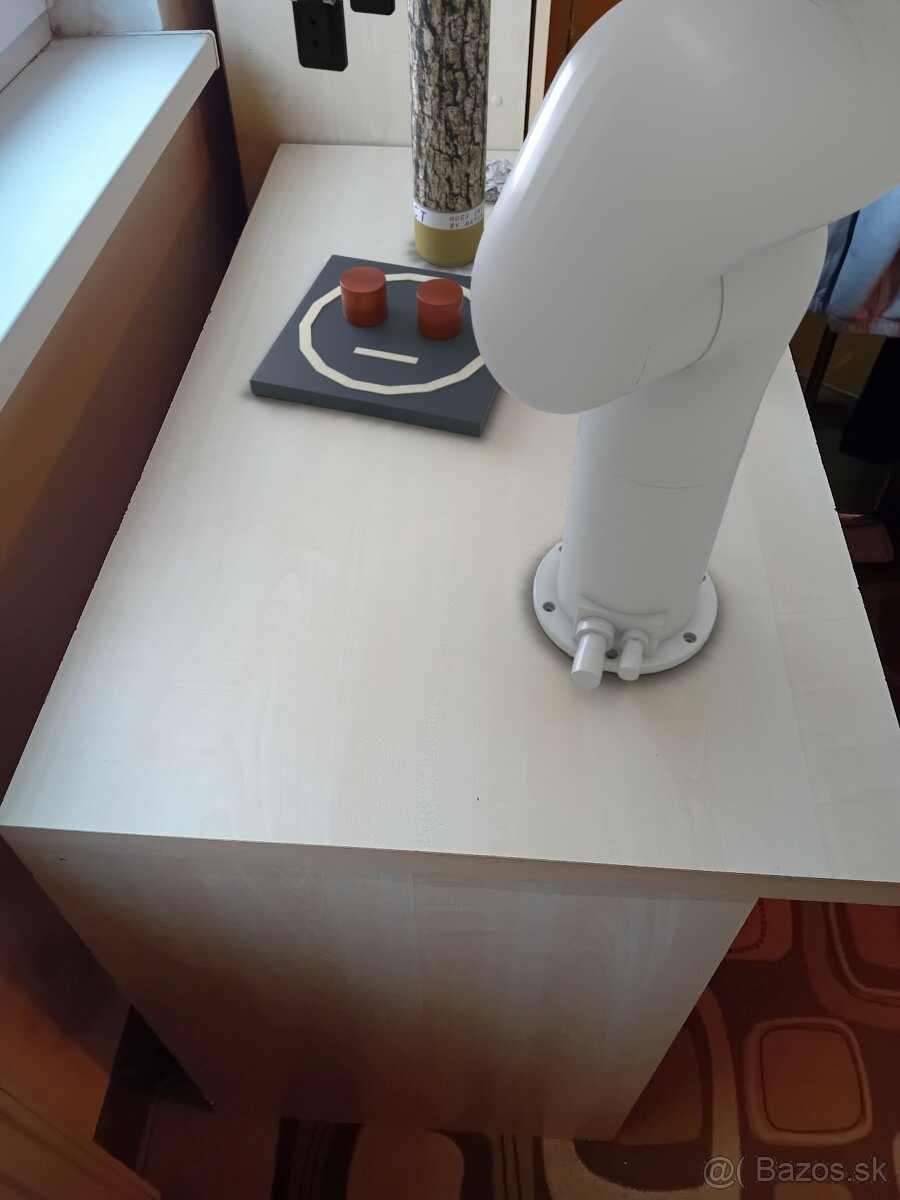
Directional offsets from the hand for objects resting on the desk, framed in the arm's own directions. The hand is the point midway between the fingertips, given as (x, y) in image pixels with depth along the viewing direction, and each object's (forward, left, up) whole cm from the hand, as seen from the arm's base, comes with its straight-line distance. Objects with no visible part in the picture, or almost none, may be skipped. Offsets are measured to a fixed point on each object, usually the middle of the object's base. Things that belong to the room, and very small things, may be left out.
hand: (349, 38), depth 65 cm
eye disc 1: (+4, +2, -24) cm, 25 cm away
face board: (+2, -2, -26) cm, 26 cm away
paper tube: (+18, -2, -26) cm, 32 cm away
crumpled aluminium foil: (+29, -7, -24) cm, 38 cm away
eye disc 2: (+4, -5, -24) cm, 25 cm away
